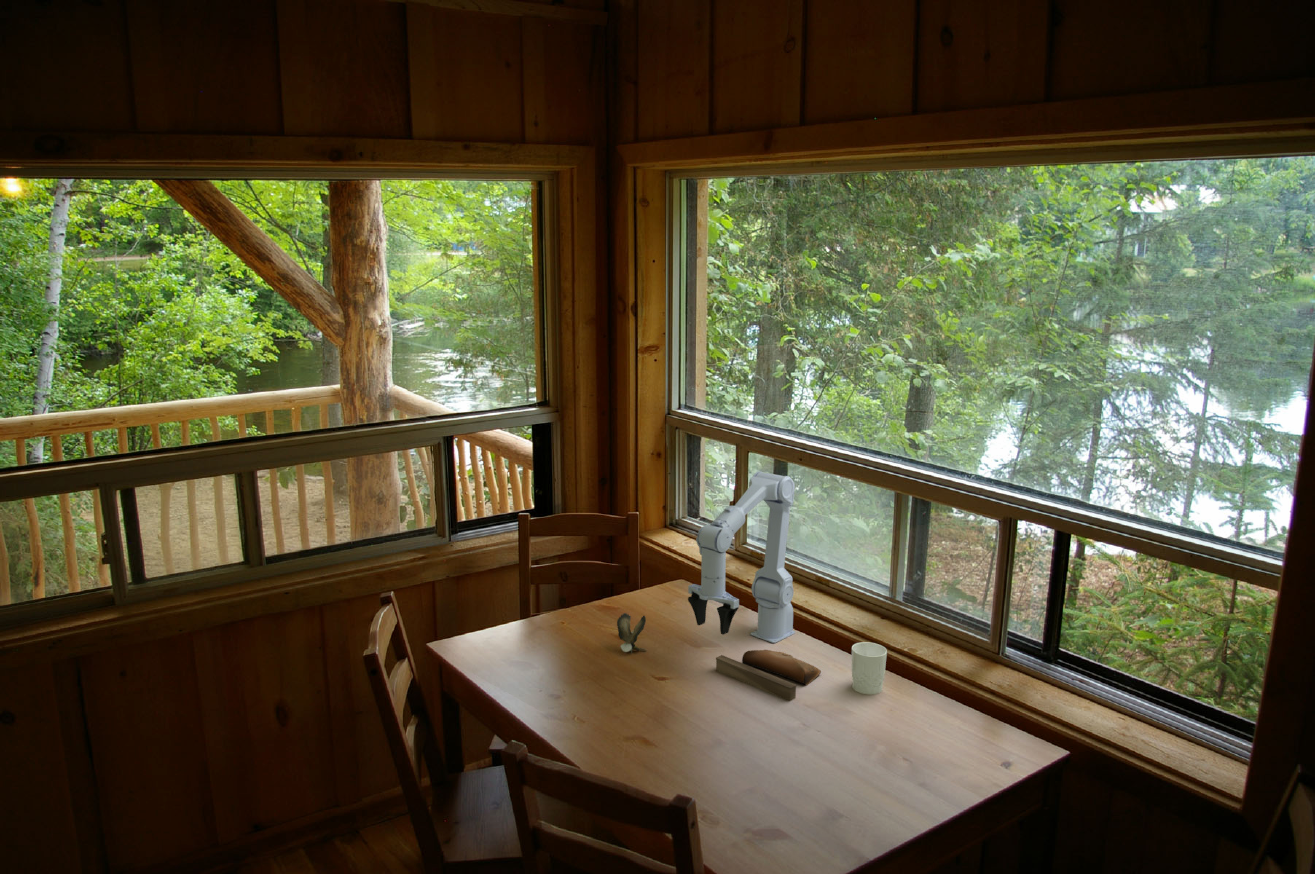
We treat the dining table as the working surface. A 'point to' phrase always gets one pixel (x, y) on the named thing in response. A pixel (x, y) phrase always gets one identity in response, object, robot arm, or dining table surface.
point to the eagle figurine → (629, 632)
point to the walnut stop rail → (756, 677)
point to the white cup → (868, 667)
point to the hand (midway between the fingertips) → (712, 628)
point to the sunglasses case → (781, 665)
